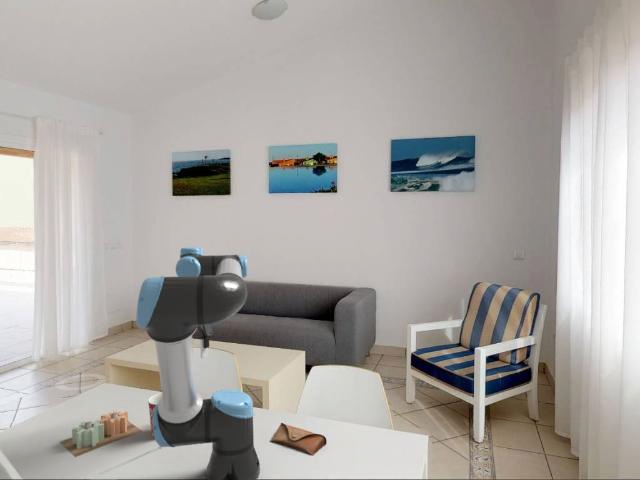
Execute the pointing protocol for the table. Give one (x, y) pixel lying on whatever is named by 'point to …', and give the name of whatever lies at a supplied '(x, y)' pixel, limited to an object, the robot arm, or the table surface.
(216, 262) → the robot arm
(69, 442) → the gear board
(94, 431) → the gear
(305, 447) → the sunglasses case
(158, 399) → the mug
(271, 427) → the table surface
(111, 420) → the gear
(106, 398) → the table surface
